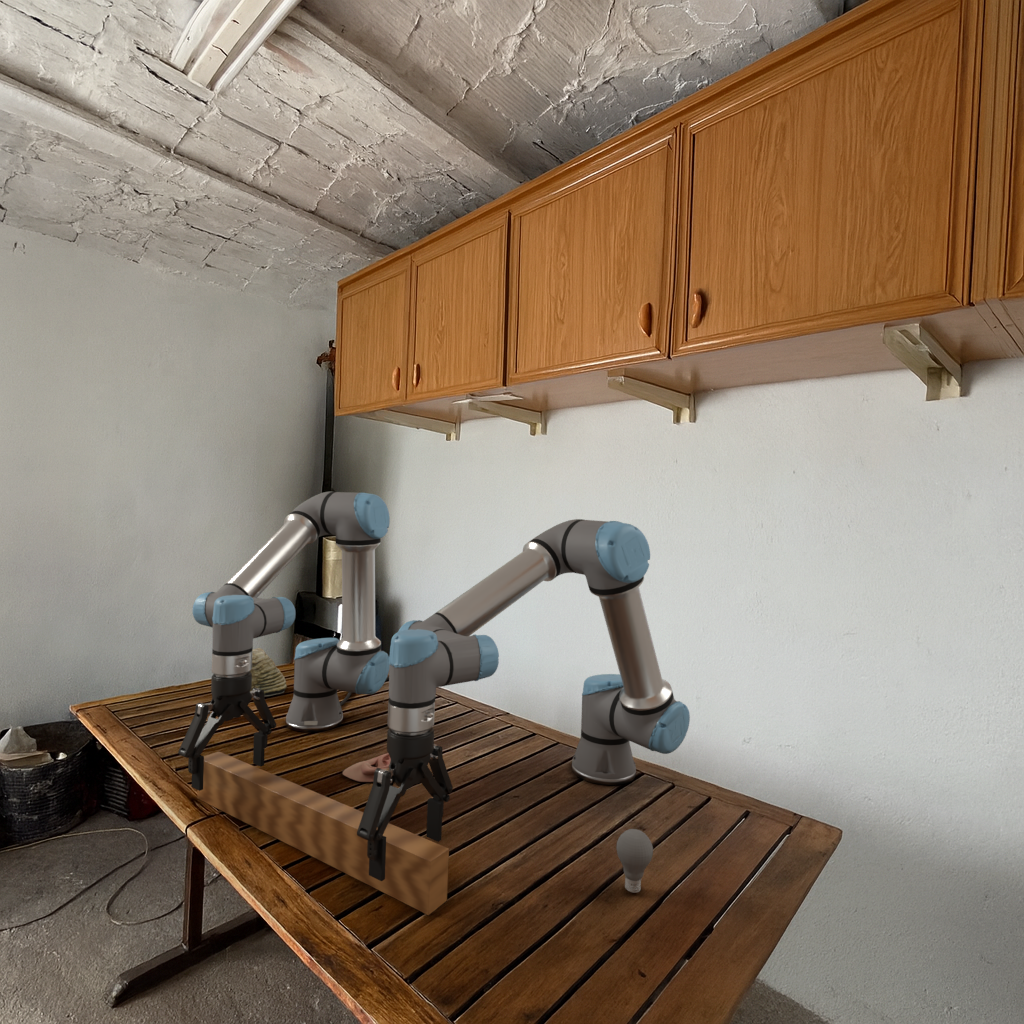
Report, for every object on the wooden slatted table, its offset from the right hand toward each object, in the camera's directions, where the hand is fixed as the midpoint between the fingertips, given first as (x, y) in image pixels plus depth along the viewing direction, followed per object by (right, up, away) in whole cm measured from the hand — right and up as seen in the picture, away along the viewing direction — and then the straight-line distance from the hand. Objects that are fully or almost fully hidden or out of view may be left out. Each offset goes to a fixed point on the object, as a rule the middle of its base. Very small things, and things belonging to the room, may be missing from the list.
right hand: (406, 856), depth 103 cm
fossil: (-63, -1, +95) cm, 114 cm away
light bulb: (+37, -7, +3) cm, 38 cm away
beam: (-21, -5, +13) cm, 25 cm away
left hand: (-41, +2, +26) cm, 48 cm away
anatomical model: (-15, -4, +43) cm, 46 cm away
